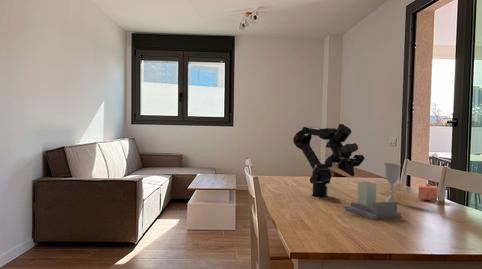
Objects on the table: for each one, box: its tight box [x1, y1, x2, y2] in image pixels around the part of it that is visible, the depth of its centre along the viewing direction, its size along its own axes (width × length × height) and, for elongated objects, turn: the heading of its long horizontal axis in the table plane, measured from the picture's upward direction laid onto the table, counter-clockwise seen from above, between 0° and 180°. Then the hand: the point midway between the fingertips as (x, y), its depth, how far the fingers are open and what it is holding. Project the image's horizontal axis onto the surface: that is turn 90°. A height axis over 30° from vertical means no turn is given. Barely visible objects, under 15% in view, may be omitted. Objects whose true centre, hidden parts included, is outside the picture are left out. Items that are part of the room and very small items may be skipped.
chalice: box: [383, 162, 402, 203], centre depth 159 cm, size 7×7×18 cm
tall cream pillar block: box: [357, 181, 377, 208], centre depth 140 cm, size 5×5×10 cm
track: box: [344, 200, 402, 221], centre depth 137 cm, size 16×14×6 cm
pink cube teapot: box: [417, 183, 438, 203], centre depth 163 cm, size 8×12×8 cm, turn 149°
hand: (353, 175), depth 147 cm, fingers closed
